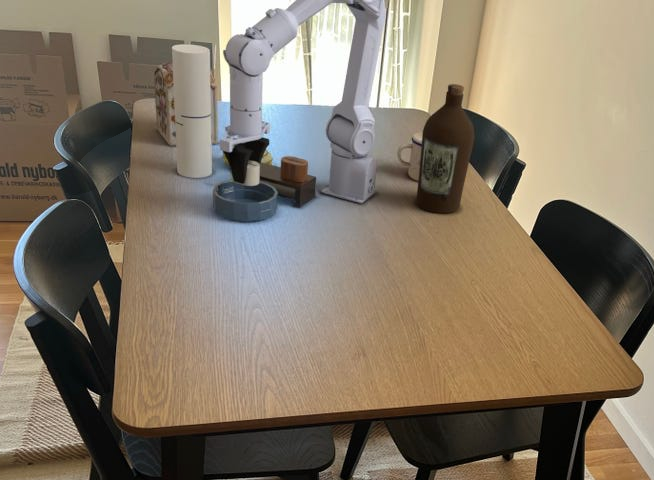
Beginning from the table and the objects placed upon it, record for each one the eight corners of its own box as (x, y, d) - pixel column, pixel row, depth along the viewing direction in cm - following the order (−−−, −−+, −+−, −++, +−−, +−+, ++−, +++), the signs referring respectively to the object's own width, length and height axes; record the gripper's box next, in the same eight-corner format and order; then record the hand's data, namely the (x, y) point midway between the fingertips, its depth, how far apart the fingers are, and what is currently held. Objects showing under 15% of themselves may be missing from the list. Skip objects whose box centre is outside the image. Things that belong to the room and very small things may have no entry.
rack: (315, 197, 157) (316, 176, 155) (299, 208, 152) (300, 186, 149) (248, 179, 161) (248, 158, 159) (230, 188, 156) (230, 168, 153)
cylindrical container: (203, 180, 158) (200, 55, 144) (171, 173, 158) (165, 49, 145) (217, 169, 164) (215, 48, 150) (186, 163, 164) (181, 42, 150)
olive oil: (423, 191, 167) (440, 75, 154) (468, 203, 165) (489, 86, 151) (405, 206, 159) (421, 85, 145) (452, 219, 156) (472, 97, 142)
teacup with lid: (442, 171, 180) (449, 122, 173) (448, 185, 172) (456, 135, 166) (392, 167, 178) (398, 118, 171) (397, 181, 170) (403, 130, 164)
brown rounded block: (310, 178, 154) (311, 160, 152) (301, 183, 151) (302, 166, 149) (286, 171, 155) (286, 154, 153) (276, 177, 152) (277, 159, 150)
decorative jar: (156, 130, 180) (151, 50, 170) (204, 128, 185) (202, 51, 175) (168, 147, 171) (164, 64, 161) (219, 144, 176) (217, 64, 166)
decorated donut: (254, 179, 162) (254, 162, 160) (213, 166, 165) (213, 149, 163) (280, 166, 170) (281, 149, 168) (241, 154, 173) (241, 138, 171)
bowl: (287, 207, 151) (288, 189, 149) (256, 228, 141) (257, 209, 139) (235, 193, 154) (234, 174, 152) (201, 212, 144) (200, 193, 142)
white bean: (263, 181, 145) (263, 163, 143) (252, 187, 142) (253, 169, 140) (238, 174, 147) (238, 156, 145) (227, 180, 143) (226, 162, 141)
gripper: (247, 94, 143) (247, 163, 151) (204, 110, 132) (206, 184, 139) (280, 102, 142) (278, 171, 149) (239, 119, 130) (239, 194, 138)
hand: (245, 178), depth 144 cm, fingers closed on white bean, 4 cm apart
